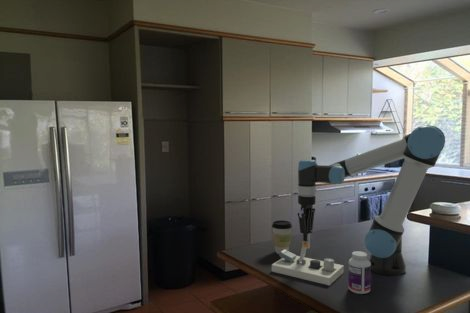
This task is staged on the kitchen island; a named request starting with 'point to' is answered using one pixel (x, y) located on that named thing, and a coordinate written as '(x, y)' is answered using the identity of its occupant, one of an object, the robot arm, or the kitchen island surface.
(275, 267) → the panel
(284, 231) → the coffee cup
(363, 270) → the pill bottle
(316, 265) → the button black
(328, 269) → the button grey
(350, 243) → the kitchen island surface
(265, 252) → the kitchen island surface
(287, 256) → the slate blue block
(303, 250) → the lever
